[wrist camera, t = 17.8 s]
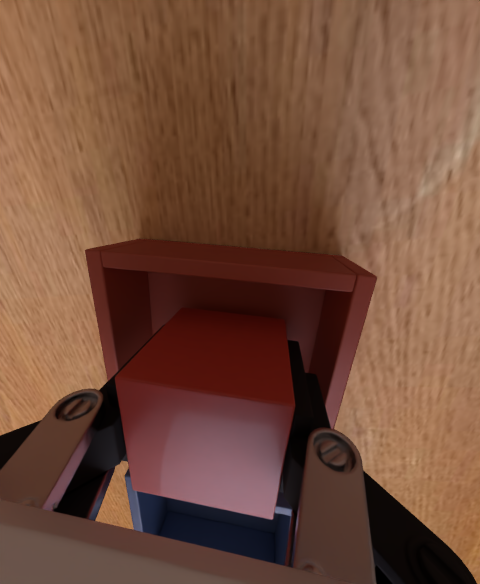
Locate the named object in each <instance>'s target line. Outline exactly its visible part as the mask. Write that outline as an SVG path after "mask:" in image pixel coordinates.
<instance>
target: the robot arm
mask: <svg viewBox="0 0 480 584" xmlns="http://www.w3.org/2000/svg"><path fill="white" fill-rule="evenodd" d="M164 325H165V324H164ZM164 325H163V326H164ZM163 326H162V327H163ZM162 327H161V328H162ZM161 328H160V329H159V330H158V331H157V332H156V333H155V334H154V335H153V336H152V337H151V338H150V339H149V340H148V341H147V342H146V343H145V344H144V345H143V346H142V347H141V348H140V349H139V350H138V351H137V352H136V353H135V354H134V355H133V356H132V357H131V358H130V359H129V360H128V361H127V362H126V363H125V364H124V365H123V366H122V367H121V368H120V369H119V370H118V372H117V373H116V374H115V375H114V376H113V377H112V378H111V379H110V380H109V381H108V382H107V383H106V384H105V385H104V386H103V387H102V388H101V389H100V390H96V389H82V390H79V391H76V392H73V393H71V394H69V395H67V396H65V397H63V398H62V399H60V400H59V401H58V402H57V403H56V404H55V405H54V406H53V407H52V408H51V409H50V411H49V412H48V413H47V414H46V415H45V417H44V418H43V419H42V420H40V421H38V422H35V423H33V424H30V425H27V426H25V427H22V428H19V429H17V430H14V431H11V432H9V433H6V434H3V435H1V436H0V584H477V583H476V581H475V579H474V577H473V575H472V574H471V572H470V571H469V570H468V568H467V567H466V566H465V564H464V563H463V562H462V560H461V559H460V558H459V557H458V556H457V555H456V554H455V553H454V552H453V551H452V550H451V549H450V548H449V547H448V546H447V545H446V544H445V543H444V542H443V541H442V540H441V539H440V538H439V537H437V536H436V535H435V534H434V533H433V532H432V531H431V530H430V529H428V528H427V527H426V526H425V525H424V524H423V523H422V522H421V521H419V520H418V519H417V518H416V517H415V516H414V515H413V514H412V513H410V512H409V511H408V510H407V509H406V508H405V507H404V506H403V505H401V504H400V503H399V502H398V501H397V500H396V499H395V498H394V497H392V496H391V495H390V494H389V493H388V492H387V491H386V490H385V489H383V488H382V487H381V486H380V485H379V484H378V483H377V482H376V481H374V480H373V479H372V478H371V477H370V476H369V475H368V474H367V473H365V472H364V471H363V466H362V460H361V456H360V453H359V451H358V449H357V448H356V446H355V445H354V444H353V442H352V441H351V440H350V439H349V438H348V437H346V436H345V435H344V434H342V433H341V432H339V431H337V430H335V429H331V426H330V422H329V418H328V415H327V411H326V407H325V404H324V400H323V396H322V393H321V389H320V385H319V382H318V378H317V375H316V374H313V373H306V372H305V370H304V365H303V360H302V356H301V351H300V346H299V342H298V341H293V340H287V341H288V349H289V358H290V366H291V374H292V382H293V391H294V399H295V410H294V415H293V420H292V425H291V431H290V436H289V441H288V446H287V451H286V456H285V461H284V466H283V472H282V477H281V482H280V487H279V492H283V493H284V498H285V499H286V501H287V502H288V503H289V505H290V506H291V507H292V510H291V518H290V525H289V532H288V539H287V546H286V553H285V560H284V566H283V565H279V564H275V563H271V562H266V561H262V560H258V559H254V558H250V557H246V556H241V555H237V554H233V553H229V552H225V551H221V550H216V549H212V548H208V547H204V546H200V545H196V544H191V543H187V542H183V541H179V540H174V539H170V538H166V537H161V536H157V535H153V534H149V533H144V532H140V531H136V530H132V529H127V528H123V527H119V526H114V525H110V524H106V523H101V522H97V521H95V519H96V517H97V514H98V512H99V509H100V506H101V504H102V501H103V499H104V496H105V493H106V491H107V488H108V486H109V483H110V480H111V478H112V475H113V473H114V470H115V466H117V465H118V464H120V462H121V461H127V462H128V459H127V452H126V446H125V440H124V434H123V427H122V421H121V415H120V408H119V402H118V396H117V390H116V383H115V377H116V375H117V374H118V373H119V372H120V371H121V370H122V369H123V368H124V367H125V366H126V365H127V364H128V363H129V362H130V361H131V360H132V359H133V358H134V357H135V356H136V355H137V353H138V352H139V351H140V350H141V349H142V348H143V347H144V346H145V345H146V344H147V343H148V342H149V341H150V340H151V339H152V338H153V337H154V336H155V335H156V334H157V333H158V332H159V331H160V330H161Z"/></svg>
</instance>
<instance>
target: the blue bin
mask: <svg viewBox="0 0 480 584" xmlns="http://www.w3.org/2000/svg"><path fill="white" fill-rule="evenodd" d="M125 481H126V487H127V493H128V498H129V504H130V510H131V515H132V521H133V527H134V530H136V531H140V532H144V533H149V534H153V535H157V536H161V537H166V538H170V539H174V540H179V541H183V542H187V543H191V544H196V545H200V546H204V547H208V548H212V549H216V550H221V551H225V552H229V553H233V554H237V555H241V556H246V557H250V558H254V559H258V560H262V561H266V562H271V563H275V564H279V565H283V566H284V560H285V553H286V546H287V539H288V532H289V525H290V518H291V510H292V507H291V506H290V505H289V503H288V502H287V501H286V499H285V498H284V493H283V492H278V497H277V502H276V507H275V513H274V518H273V519H272V520H271V519H266V518H261V517H257V516H252V515H247V514H243V513H238V512H233V511H228V510H224V509H219V508H214V507H210V506H205V505H200V504H196V503H191V502H186V501H181V500H177V499H172V498H167V497H163V496H158V495H153V494H149V493H144V492H139V491H134V490H133V489H132V484H131V477H130V471H129V469H128V470H127V472H126V474H125Z"/></svg>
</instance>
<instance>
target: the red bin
mask: <svg viewBox="0 0 480 584" xmlns="http://www.w3.org/2000/svg"><path fill="white" fill-rule="evenodd" d="M85 254H86V260H87V265H88V271H89V277H90V282H91V288H92V294H93V299H94V305H95V311H96V316H97V322H98V328H99V334H100V339H101V345H102V351H103V356H104V362H105V368H106V373H107V379H108V381H109V380H110V379H111V378H112V377H113V376H114V375H115V374H116V373H117V372H118V370H119V369H120V368H121V367H122V366H123V365H124V364H125V363H126V362H127V361H128V360H129V359H130V358H131V357H132V356H133V355H134V354H135V353H136V352H137V351H138V350H139V349H140V348H141V347H142V346H143V345H144V344H145V343H146V342H147V341H148V340H149V339H150V338H151V337H152V336H153V335H154V334H155V333H156V332H157V331H158V330H159V329H160V328H161V327H162V326H163V325H164V324H166V323H167V322H168V321H169V320H170V319H171V318H172V317H173V316H174V315H175V314H176V313H177V312H178V311H179V310H180V309H181V308H182V307H184V308H193V309H201V310H210V311H218V312H227V313H235V314H244V315H252V316H261V317H269V318H278V319H284V320H285V324H286V333H287V340H293V341H298V342H299V346H300V351H301V356H302V360H303V365H304V370H305V372H306V373H313V374H316V375H317V378H318V382H319V385H320V389H321V393H322V396H323V400H324V404H325V407H326V411H327V415H328V418H329V422H330V426H331V429H334V426H335V423H336V419H337V416H338V412H339V409H340V405H341V402H342V398H343V395H344V391H345V388H346V384H347V381H348V377H349V374H350V370H351V367H352V363H353V360H354V356H355V353H356V349H357V346H358V343H359V339H360V336H361V332H362V329H363V325H364V322H365V318H366V315H367V311H368V308H369V304H370V301H371V297H372V294H373V290H374V287H375V283H376V280H377V276H375V275H373V274H372V273H370V272H368V271H367V270H365V269H363V268H362V267H360V266H358V265H357V264H355V263H354V262H352V261H350V260H349V259H347V258H345V257H344V256H340V255H328V254H316V253H305V252H293V251H281V250H269V249H257V248H245V247H234V246H222V245H210V244H198V243H186V242H174V241H163V240H151V239H135V240H131V241H126V242H121V243H116V244H111V245H106V246H101V247H96V248H91V249H86V250H85Z"/></svg>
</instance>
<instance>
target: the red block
mask: <svg viewBox="0 0 480 584" xmlns="http://www.w3.org/2000/svg"><path fill="white" fill-rule="evenodd" d="M115 383H116V390H117V396H118V402H119V408H120V415H121V421H122V427H123V434H124V440H125V446H126V452H127V459H128V465H129V471H130V477H131V484H132V489H133V490H134V491H139V492H144V493H149V494H153V495H158V496H163V497H167V498H172V499H177V500H181V501H186V502H191V503H196V504H200V505H205V506H210V507H214V508H219V509H224V510H228V511H233V512H238V513H243V514H247V515H252V516H257V517H261V518H266V519H271V520H272V519H273V518H274V513H275V507H276V502H277V497H278V492H279V487H280V482H281V477H282V472H283V466H284V461H285V456H286V451H287V446H288V441H289V436H290V431H291V425H292V420H293V415H294V410H295V399H294V391H293V382H292V374H291V366H290V358H289V349H288V341H287V333H286V324H285V320H284V319H278V318H269V317H261V316H252V315H244V314H235V313H227V312H218V311H210V310H201V309H193V308H184V307H182V308H181V309H180V310H179V311H178V312H177V313H176V314H175V315H174V316H173V317H172V318H171V319H170V320H169V321H168V322H167V323H166V324H165V325H164V326H163V327H162V328H161V330H160V331H159V332H158V333H157V334H156V335H155V336H154V337H153V338H152V339H151V340H150V341H149V342H148V343H147V344H146V345H145V346H144V347H143V348H142V349H141V350H140V351H139V352H138V353H137V355H136V356H135V357H134V358H133V359H132V360H131V361H130V362H129V363H128V364H127V365H126V366H125V367H124V368H123V369H122V370H121V371H120V372H119V373H118V374H117V375H116V377H115Z"/></svg>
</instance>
